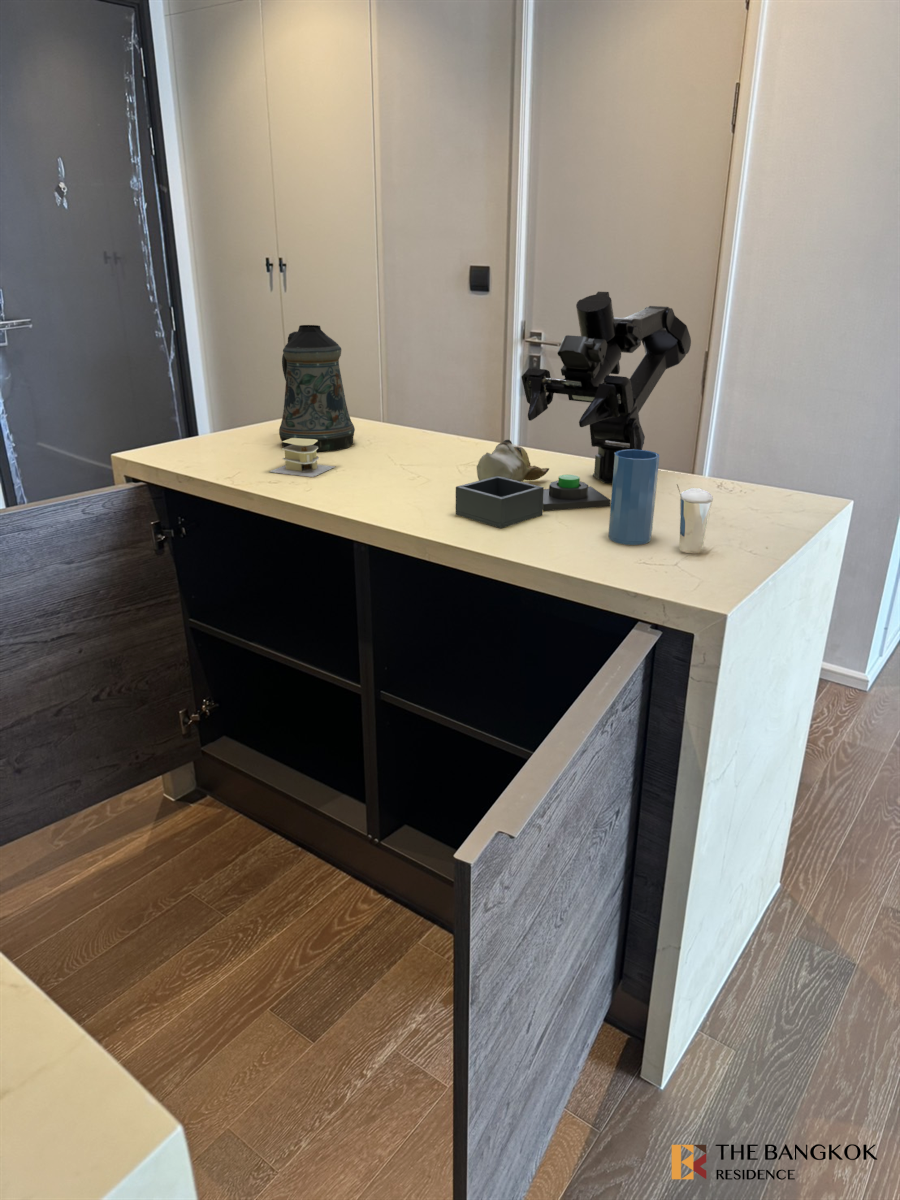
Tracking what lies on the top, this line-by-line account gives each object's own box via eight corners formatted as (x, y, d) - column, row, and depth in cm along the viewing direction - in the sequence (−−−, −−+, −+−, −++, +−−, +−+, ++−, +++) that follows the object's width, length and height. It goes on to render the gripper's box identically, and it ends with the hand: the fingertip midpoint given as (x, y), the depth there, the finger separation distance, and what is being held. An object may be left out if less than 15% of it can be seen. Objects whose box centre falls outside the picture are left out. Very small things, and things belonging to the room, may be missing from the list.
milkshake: (664, 545, 128) (671, 480, 125) (699, 544, 129) (707, 479, 125) (674, 555, 124) (682, 488, 120) (710, 554, 125) (719, 487, 121)
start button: (574, 483, 151) (575, 473, 150) (582, 489, 148) (582, 479, 147) (555, 484, 150) (555, 475, 149) (562, 490, 147) (563, 480, 146)
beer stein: (329, 455, 181) (322, 331, 171) (253, 446, 188) (243, 327, 179) (369, 440, 195) (365, 324, 185) (297, 432, 202) (290, 321, 193)
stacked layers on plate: (268, 472, 168) (266, 444, 166) (293, 462, 176) (291, 435, 174) (313, 477, 165) (311, 448, 162) (336, 466, 172) (334, 439, 170)
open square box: (497, 502, 149) (497, 475, 147) (542, 515, 142) (543, 487, 141) (455, 514, 142) (455, 486, 141) (501, 528, 136) (501, 499, 134)
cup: (639, 530, 135) (647, 448, 130) (658, 543, 129) (667, 458, 124) (601, 533, 134) (608, 450, 129) (618, 546, 128) (625, 460, 123)
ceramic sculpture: (462, 440, 154) (506, 431, 166) (459, 487, 157) (503, 475, 169) (513, 448, 148) (554, 438, 160) (509, 497, 151) (550, 484, 163)
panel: (590, 492, 155) (591, 476, 154) (610, 506, 147) (611, 489, 146) (526, 496, 153) (527, 480, 152) (543, 511, 145) (544, 493, 143)
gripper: (537, 320, 145) (493, 373, 137) (642, 326, 135) (601, 383, 127) (548, 377, 153) (507, 430, 145) (648, 386, 143) (610, 444, 135)
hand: (554, 421), depth 138 cm, fingers open, 9 cm apart
